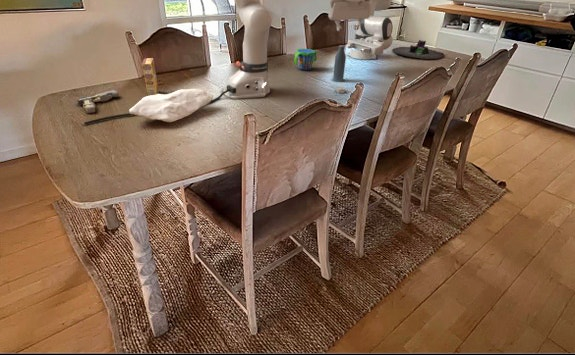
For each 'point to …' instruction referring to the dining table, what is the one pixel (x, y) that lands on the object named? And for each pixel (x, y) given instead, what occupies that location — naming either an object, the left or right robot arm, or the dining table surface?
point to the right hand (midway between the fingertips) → (355, 48)
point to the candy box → (150, 76)
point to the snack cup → (305, 58)
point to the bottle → (339, 64)
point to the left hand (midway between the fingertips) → (347, 30)
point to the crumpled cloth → (171, 104)
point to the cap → (340, 89)
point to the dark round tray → (418, 51)
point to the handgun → (95, 100)
